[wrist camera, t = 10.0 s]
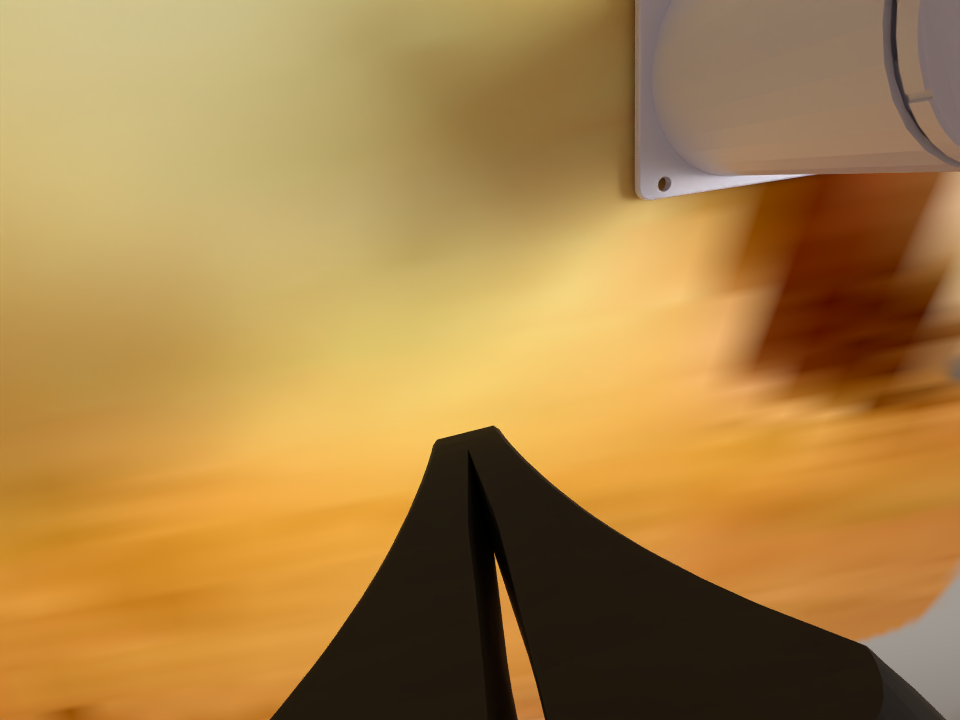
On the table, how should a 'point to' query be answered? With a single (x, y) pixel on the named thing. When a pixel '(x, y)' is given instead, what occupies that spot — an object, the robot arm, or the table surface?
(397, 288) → the table surface
